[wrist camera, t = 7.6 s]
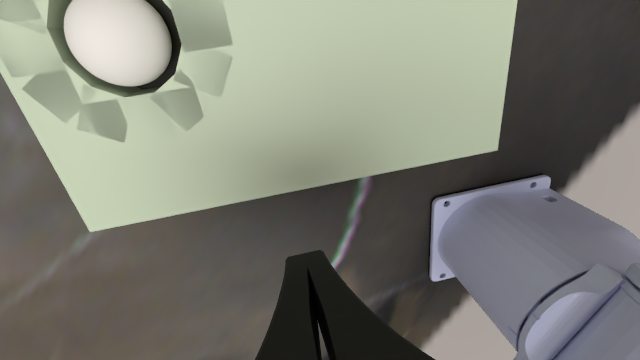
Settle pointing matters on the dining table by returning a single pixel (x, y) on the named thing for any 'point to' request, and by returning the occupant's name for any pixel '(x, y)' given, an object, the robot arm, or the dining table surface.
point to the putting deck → (262, 99)
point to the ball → (118, 40)
